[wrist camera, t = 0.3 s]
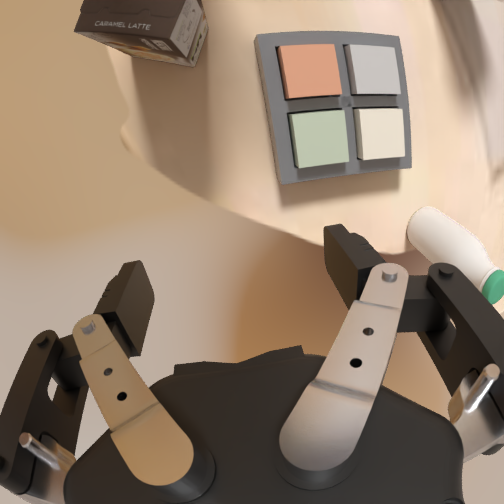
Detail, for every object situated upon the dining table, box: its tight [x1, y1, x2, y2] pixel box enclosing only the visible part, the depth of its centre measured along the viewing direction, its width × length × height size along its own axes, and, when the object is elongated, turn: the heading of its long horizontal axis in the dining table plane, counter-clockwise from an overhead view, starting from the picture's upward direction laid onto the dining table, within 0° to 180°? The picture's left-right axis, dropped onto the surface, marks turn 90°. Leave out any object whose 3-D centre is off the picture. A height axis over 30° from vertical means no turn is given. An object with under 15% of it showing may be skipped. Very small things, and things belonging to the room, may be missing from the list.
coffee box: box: [74, 0, 208, 67], centre depth 21 cm, size 9×6×16 cm
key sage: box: [288, 110, 349, 168], centre depth 33 cm, size 6×6×2 cm
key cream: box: [352, 108, 405, 160], centre depth 33 cm, size 6×6×2 cm
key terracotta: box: [277, 44, 342, 99], centre depth 29 cm, size 6×6×2 cm
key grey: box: [343, 44, 401, 94], centre depth 29 cm, size 6×6×2 cm
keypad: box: [254, 31, 412, 185], centre depth 32 cm, size 19×19×3 cm
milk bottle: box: [407, 206, 504, 305], centre depth 35 cm, size 8×8×20 cm
